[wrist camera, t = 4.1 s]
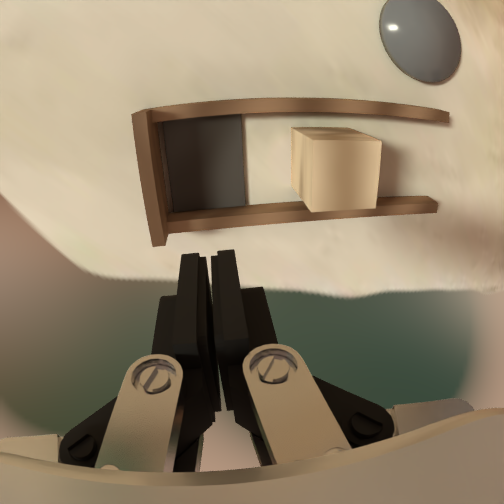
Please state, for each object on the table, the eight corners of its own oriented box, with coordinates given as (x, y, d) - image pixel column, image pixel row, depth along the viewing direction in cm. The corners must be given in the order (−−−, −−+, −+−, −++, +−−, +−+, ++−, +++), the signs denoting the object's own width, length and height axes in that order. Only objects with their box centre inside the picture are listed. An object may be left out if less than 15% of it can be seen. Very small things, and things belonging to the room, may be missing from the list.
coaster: (453, 7, 19) (458, 6, 18) (455, 88, 23) (460, 89, 23) (376, -18, 18) (380, -20, 17) (380, 74, 22) (385, 74, 22)
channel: (436, 109, 24) (463, 116, 21) (425, 204, 29) (448, 221, 26) (143, 109, 22) (131, 114, 19) (159, 224, 27) (152, 246, 24)
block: (347, 127, 25) (381, 141, 20) (345, 182, 27) (375, 208, 22) (290, 127, 24) (313, 140, 19) (291, 185, 27) (311, 212, 22)
